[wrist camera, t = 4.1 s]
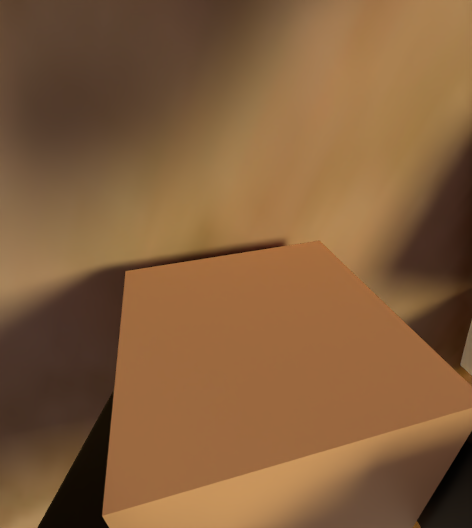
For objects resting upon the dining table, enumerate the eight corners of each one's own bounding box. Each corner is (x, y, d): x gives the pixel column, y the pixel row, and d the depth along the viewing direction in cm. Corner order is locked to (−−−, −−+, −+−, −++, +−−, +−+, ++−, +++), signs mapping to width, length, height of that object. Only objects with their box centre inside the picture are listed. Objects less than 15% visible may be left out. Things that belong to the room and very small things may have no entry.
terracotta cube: (305, 367, 11) (402, 544, 7) (160, 402, 10) (171, 629, 6) (319, 240, 8) (489, 402, 4) (125, 271, 8) (101, 516, 3)
